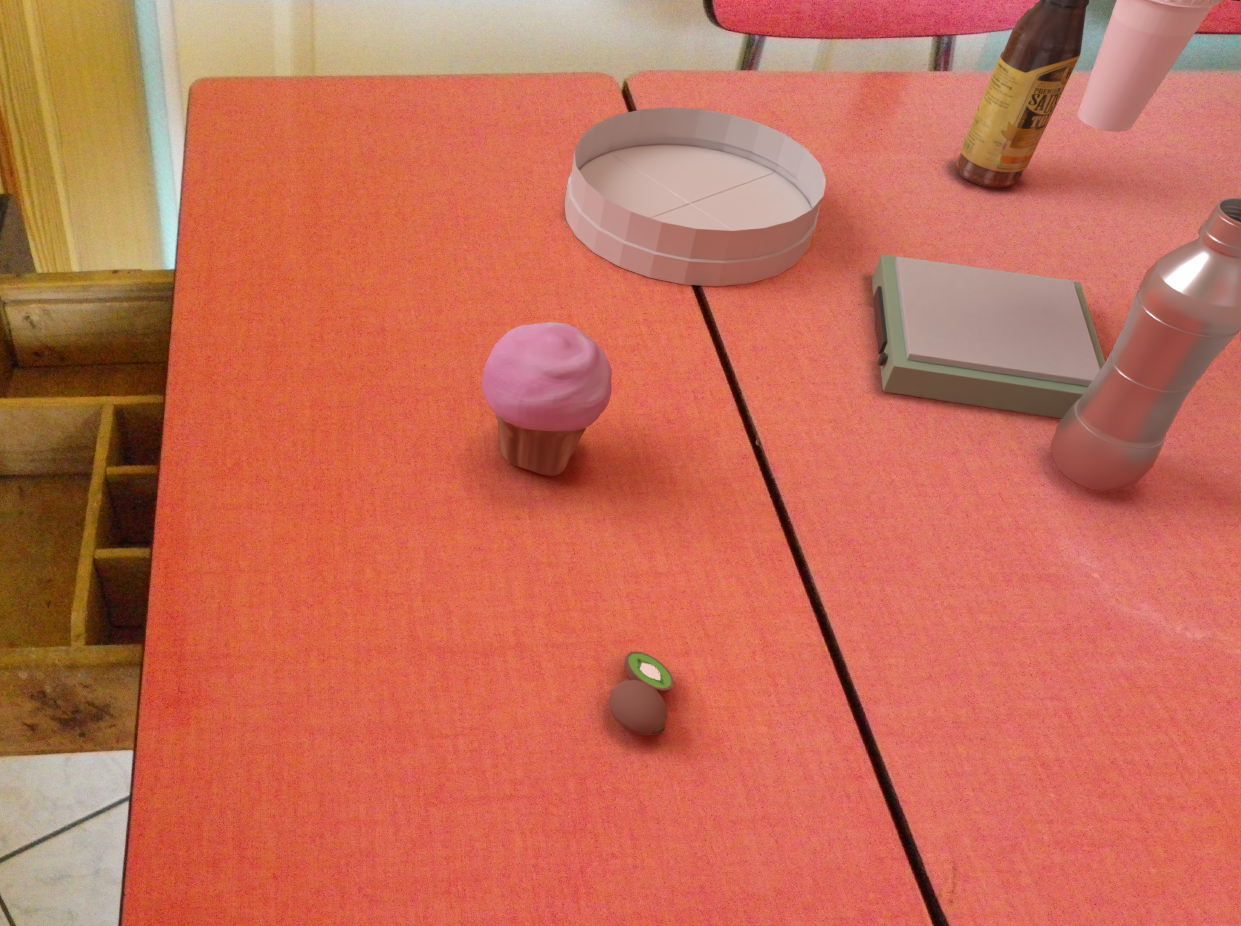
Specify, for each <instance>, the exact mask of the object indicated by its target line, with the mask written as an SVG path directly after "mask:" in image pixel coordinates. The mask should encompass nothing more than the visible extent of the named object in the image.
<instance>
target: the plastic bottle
mask: <svg viewBox="0 0 1241 926" xmlns="http://www.w3.org/2000/svg"><path fill="white" fill-rule="evenodd" d="M1197 233H1198V236H1199V237H1198V238H1196V239H1194V240H1192V241H1190V242H1187V243H1184V244H1182V245H1180V246H1178V247H1177V248H1175V249H1173V250H1171V251H1169V252H1168V253H1166V254H1164V255H1163V256H1161V257H1159V259H1157V260H1156V261H1155V262H1154V263H1153V264H1152V265H1151V266H1150V267H1149V268H1148V269H1147V271H1146V272H1145V274H1144V276H1143V278H1142V280H1141V282H1140V284H1139V286H1138V290H1137V292H1136V294H1135V296H1134V299H1133V301H1132V304H1131V307H1130V309H1129V312H1128V315H1127V317H1126V319H1125V322H1124V325H1123V327H1122V329H1121V331H1120V333H1119V335H1118V336H1117V339H1116V340H1115V343H1114V344H1113V348H1112V349H1111V351H1110V353H1109V354H1108V357H1107V358H1106V359H1105V364H1104V365H1103V367H1102V368H1101V370H1100V371H1099V373H1098V374H1097V375H1096V377H1095V378H1094V380H1093V381H1092V382H1091V384H1090V385H1089V387H1088V388H1087V390H1086V391H1085V392H1084V394H1083V395H1082V397H1081V398H1080V399H1079V400H1077V401H1076V403H1075V404H1074V405H1073V406H1072V407H1071V408H1070V409H1069V410H1068V412H1067V413H1066V414H1065V415H1064V417H1063V418H1062V419H1061V418H1060V420H1059V422H1058V423H1057V425H1056V428H1055V431H1054V433H1053V436H1052V439H1051V443H1050V450H1051V455H1052V459H1053V462H1054V464H1055V466H1056V467H1057V469H1058V470H1059V472H1061V473H1062V474H1063V475H1064V476H1066V478H1068V479H1070V480H1071V481H1072V482H1074V483H1076V484H1078V485H1081V486H1083V487H1085V488H1088V489H1091V490H1095V491H1101V492H1116V491H1121V490H1124V489H1127V488H1129V487H1132V486H1134V485H1136V484H1137V483H1139V481H1141V480H1142V478H1144V476H1145V475H1147V474H1148V473H1149V471H1151V470H1152V468H1153V467H1154V466H1155V464H1156V461H1157V460H1158V458H1159V456H1160V453H1161V451H1162V449H1163V447H1164V444H1165V441H1166V438H1167V434H1168V432H1169V430H1170V428H1171V427H1172V425H1173V423H1174V421H1175V419H1176V417H1177V414H1179V411H1180V409H1181V408H1182V405H1184V402H1185V400H1186V399H1187V397H1188V395H1189V394H1190V392H1191V391H1192V390H1193V389H1194V387H1195V386H1196V385H1197V382H1199V380H1200V379H1201V378H1202V376H1203V375H1204V374H1205V372H1206V371H1207V370H1208V368H1209V367H1210V366H1211V365H1212V363H1213V362H1214V360H1216V359H1217V357H1219V355H1220V354H1221V353H1222V352H1223V351H1224V350H1225V348H1226V347H1227V346H1228V345H1229V344H1230V342H1232V340H1233V339H1234V338H1235V337H1236V336H1237V335H1238V334H1239V333H1240V332H1241V197H1226V198H1223V199H1220V200H1219V201H1218V203H1216V204H1215V206H1214V208H1213V209H1212V211H1211V213H1210V214H1209V215H1208V217H1207V219H1205V220H1203V222H1202V223H1201V225H1200V227H1199V229H1198V230H1197Z"/></svg>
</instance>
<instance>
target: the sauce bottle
mask: <svg viewBox="0 0 1241 926" xmlns="http://www.w3.org/2000/svg"><path fill="white" fill-rule="evenodd" d="M1089 4H1090V0H1038V1H1037V2H1036V3H1035V4H1034V6H1033V7H1031V8H1030V9H1027V10H1026V11H1025V12H1024V13H1023V15H1022V16H1020V17H1019V19H1018V20H1017V21H1016V23H1015V24H1014V26H1013V28H1012V30H1011V33H1010V34H1009V37H1008V39H1007V42H1006V45H1005V47H1004V49H1003V51H1002V52H1001V53H1000V55H999V57H998V60H997V62H996V64H995V67H994V69H993V71H992V74H991V76H990V79H989V80H988V83H987V85H986V88H985V89H984V93H983V95H982V97H981V99H980V102H979V104H978V106H977V108H976V111H975V114H974V116H973V118H972V121H971V123H970V126H969V128H968V130H967V133H966V134H965V137H964V140H963V142H962V144H961V147H960V154H959V156H958V157H957V160H956V163H955V167H956V171H957V173H958V174H959V175H960V176H961V178H963V179H965V180H967V181H969V182H971V183H974V184H976V185H978V186H982V187H990V188H1007V187H1011V186H1013V185H1015V184H1017V182H1018V181H1019V180H1020V179H1021V177H1022V175H1023V172H1024V171H1025V170H1026V168H1028V166H1029V164H1030V162H1031V160H1032V158H1033V157H1034V155H1035V152H1036V150H1037V147H1038V145H1039V143H1040V141H1041V139H1042V137H1043V136H1044V135H1043V134H1044V133H1045V131H1046V128H1047V126H1048V124H1049V122H1050V120H1051V118H1052V116H1053V114H1054V112H1055V109H1056V107H1057V105H1058V103H1059V101H1060V99H1061V97H1062V94H1063V93H1064V90H1065V88H1066V86H1067V84H1068V82H1069V80H1070V78H1071V75H1072V73H1073V71H1074V69H1075V67H1076V65H1077V63H1078V61H1079V59H1080V56H1081V55H1082V45H1083V39H1084V29H1085V22H1086V21H1085V20H1086V13H1087V7H1088V6H1089Z"/></svg>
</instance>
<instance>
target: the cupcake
mask: <svg viewBox="0 0 1241 926" xmlns="http://www.w3.org/2000/svg"><path fill="white" fill-rule="evenodd" d="M612 374H613V372H612V366H611V362H610V360H609V359H608V358H607V354H606V353H605V351H604V350H603V348H601V346H600V345H599V344H598V343H597V342H596V341H595V340H593V339H592V338H591V337H590V336H589V335H587V333H585V332H583V331H582V330H581V329H579V328H577V327H575V326H573V325H570V324H568V323H564V322H559V321H558V322H557V321H548V322H540V323H534V324H533V323H532V324H523V325H519V326H517V327H514V328H512V329H510V330H508V331H506V333H505V334H503V336H502V337H501V338H499V340H498V341H497V342H496V343H495V345H494V347H493V348H492V349H491V352H490V354H489V356H488V358H487V360H486V362H485V364H484V370H483V372H482V378H481V383H480V385H481V392H482V394H483V397H484V399H485V401H486V403H487V405H488V406H489V408H490V409H491V410H492V412H493V413H494V414H495V419H496V421H497V430H498V432H497V433H498V439H499V446H500V451H501V455H502V457H503V458H504V459H505V461H507V463H509V464H510V465H512V466H514V467H518V468H521V469H524V470H527V471H530V472H533V473H536V474H540V475H543V476H548V477H554V476H557V475H561V474H562V473H563V472H564V471H565V469H566V468H567V465H568V463H569V461H570V460H571V458H572V456H573V455H574V452H575V450H576V448H577V445H579V442H580V440H581V438H582V437H583V435H584V433H585V432H586V430H587V428H588V427H591V426H592V425H593V424H594V423H595V422H596V420H598V419H599V417H600V416H601V415H602V414H603V412H604V411H605V410H606V409H607V407H608V405H609V403H610V400H611V396H612V392H613V390H612V389H613V385H612Z"/></svg>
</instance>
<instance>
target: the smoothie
mask: <svg viewBox="0 0 1241 926" xmlns="http://www.w3.org/2000/svg"><path fill="white" fill-rule="evenodd" d="M1223 1H1224V0H1115V4H1114V6H1113V9H1112V12H1111V16H1110V19H1109V21H1108V24H1107V27H1106V30H1105V33H1104V35H1103V39H1102V41H1101V43H1100V47H1099V50H1098V53H1097V56H1096V59H1095V61H1094V64H1093V67H1092V70H1091V74H1090V77H1089V78H1088V82H1087V85H1086V87H1085V91H1084V94H1083V97H1082V100H1081V102H1080V105H1079V108H1078V111H1077V118H1078V120H1080V121H1081V122H1082V123H1083V124H1085V125H1087V126H1089V127H1091V128H1094V129H1097V130H1101V131H1104V132H1110V133H1111V132H1113V133H1120V132H1121V133H1122V132H1126V131H1129V130H1131V129H1132V127H1133V126H1134V124H1135V123H1136V121H1137V120H1138V119H1139V117H1140V115H1141V114H1142V112H1143V111H1144V110H1145V108H1146V106H1147V105H1148V103H1149V102H1150V100H1151V99H1152V98H1153V96H1154V95H1155V93H1156V92H1157V90H1158V88H1159V87H1160V86H1161V84H1162V83H1163V81H1164V80H1165V79H1166V77H1167V76H1168V74H1169V73H1170V71H1171V69H1172V68H1173V66H1174V65H1175V64H1176V62H1177V61H1178V59H1179V58H1180V56H1181V54H1182V53H1183V52H1184V50H1185V49H1186V47H1187V46H1188V44H1189V43H1190V41H1191V39H1192V38H1193V37H1194V35H1195V34H1196V32H1197V31H1198V30H1199V28H1200V27H1201V25H1202V23H1203V22H1204V20H1205V19H1206V17H1207V16H1208V14H1209V13H1210V11H1211V10H1212V8H1213V7H1216V6H1219V4H1221V3H1222V2H1223Z"/></svg>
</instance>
